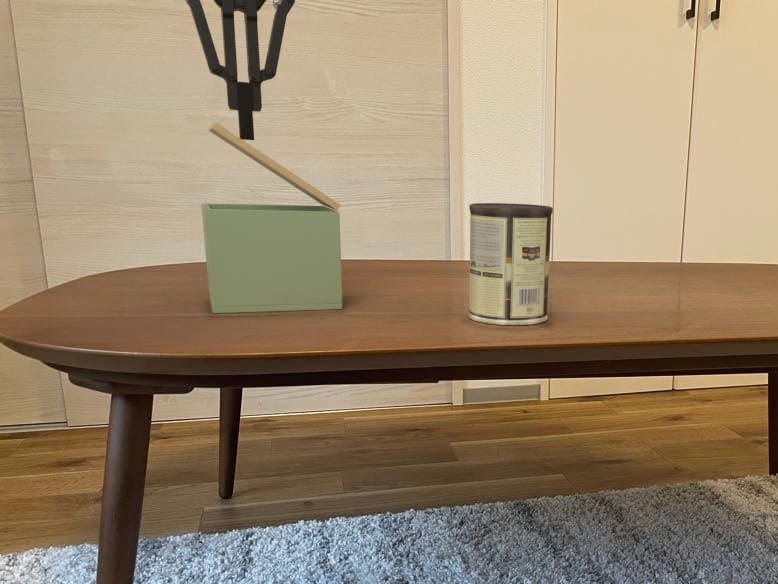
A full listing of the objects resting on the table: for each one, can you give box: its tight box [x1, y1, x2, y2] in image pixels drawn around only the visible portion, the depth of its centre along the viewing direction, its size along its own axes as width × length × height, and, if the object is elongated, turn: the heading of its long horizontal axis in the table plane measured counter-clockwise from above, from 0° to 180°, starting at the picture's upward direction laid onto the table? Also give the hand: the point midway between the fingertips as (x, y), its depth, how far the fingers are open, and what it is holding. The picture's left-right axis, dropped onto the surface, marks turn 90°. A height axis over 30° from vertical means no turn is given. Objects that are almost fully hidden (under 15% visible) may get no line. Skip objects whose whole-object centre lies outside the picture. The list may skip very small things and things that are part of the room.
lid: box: [208, 121, 342, 212], centre depth 98 cm, size 16×12×1 cm
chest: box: [201, 202, 343, 314], centre depth 101 cm, size 16×12×12 cm
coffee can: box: [468, 202, 554, 326], centre depth 98 cm, size 10×10×14 cm
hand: (247, 139), depth 96 cm, fingers closed
